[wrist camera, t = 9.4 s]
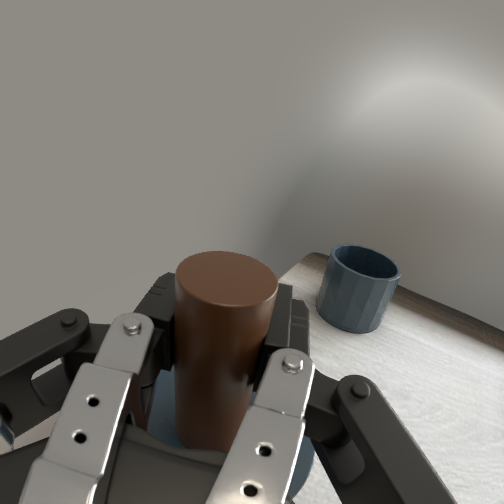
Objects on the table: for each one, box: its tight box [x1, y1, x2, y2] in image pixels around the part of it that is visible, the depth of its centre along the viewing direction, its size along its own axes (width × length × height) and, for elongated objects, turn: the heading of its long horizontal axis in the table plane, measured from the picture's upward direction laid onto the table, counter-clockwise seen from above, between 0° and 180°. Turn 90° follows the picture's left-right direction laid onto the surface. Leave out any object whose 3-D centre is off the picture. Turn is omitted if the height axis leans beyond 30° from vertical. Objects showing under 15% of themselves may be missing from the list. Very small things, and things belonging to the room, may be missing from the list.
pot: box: [316, 244, 401, 333], centre depth 38 cm, size 9×9×8 cm
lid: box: [147, 251, 315, 499], centre depth 11 cm, size 10×10×9 cm
